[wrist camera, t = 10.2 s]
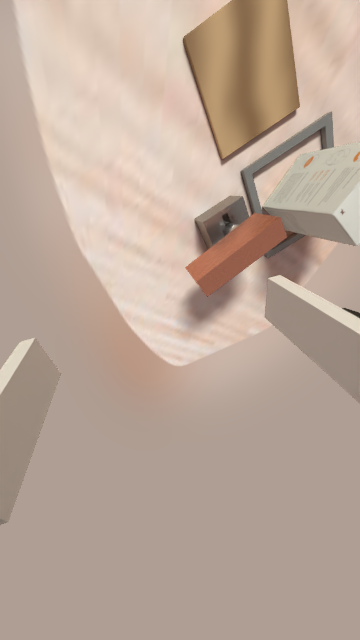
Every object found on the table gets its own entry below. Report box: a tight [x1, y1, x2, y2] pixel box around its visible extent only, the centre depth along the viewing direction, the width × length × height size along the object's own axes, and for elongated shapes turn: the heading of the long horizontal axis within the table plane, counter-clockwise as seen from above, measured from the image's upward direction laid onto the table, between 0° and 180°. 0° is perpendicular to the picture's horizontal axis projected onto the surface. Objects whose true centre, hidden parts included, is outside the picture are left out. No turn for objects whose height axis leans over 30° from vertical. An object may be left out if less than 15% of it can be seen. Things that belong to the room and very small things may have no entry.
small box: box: [263, 142, 360, 246], centre depth 26 cm, size 8×6×13 cm
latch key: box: [185, 213, 287, 297], centre depth 25 cm, size 2×10×8 cm, turn 126°
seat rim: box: [241, 112, 334, 258], centre depth 31 cm, size 13×14×1 cm
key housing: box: [195, 196, 249, 249], centre depth 30 cm, size 6×6×4 cm
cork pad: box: [183, 0, 300, 159], centre depth 23 cm, size 11×11×1 cm
